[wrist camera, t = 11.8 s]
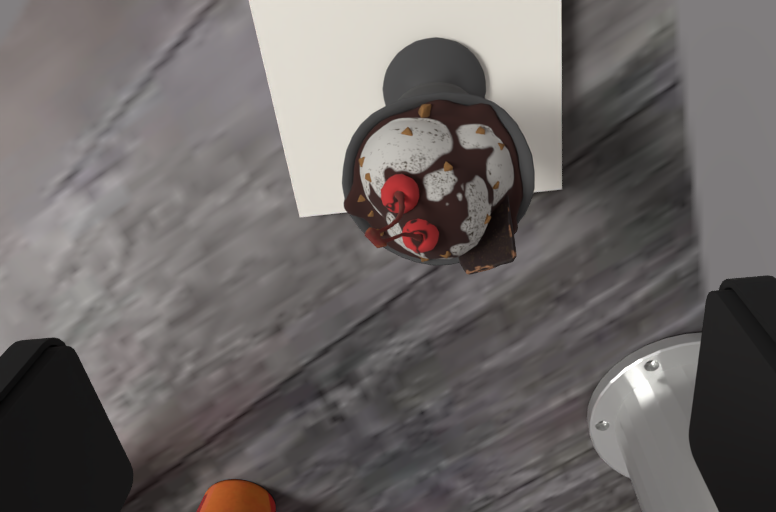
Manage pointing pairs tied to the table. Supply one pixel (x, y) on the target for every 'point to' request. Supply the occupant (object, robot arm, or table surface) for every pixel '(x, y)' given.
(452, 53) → the sundae
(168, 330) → the table surface
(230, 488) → the paper cup
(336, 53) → the board
